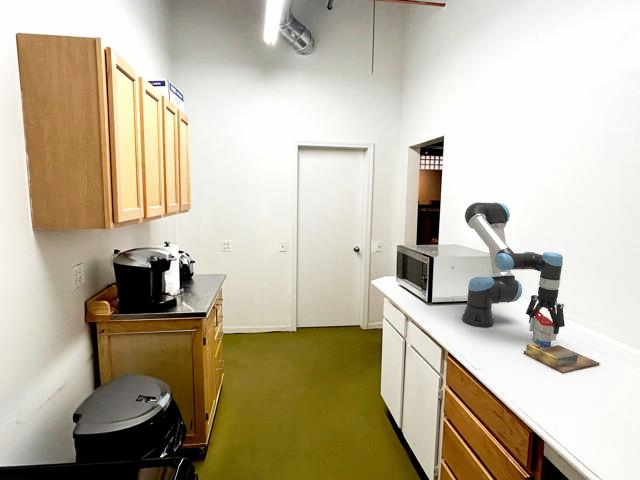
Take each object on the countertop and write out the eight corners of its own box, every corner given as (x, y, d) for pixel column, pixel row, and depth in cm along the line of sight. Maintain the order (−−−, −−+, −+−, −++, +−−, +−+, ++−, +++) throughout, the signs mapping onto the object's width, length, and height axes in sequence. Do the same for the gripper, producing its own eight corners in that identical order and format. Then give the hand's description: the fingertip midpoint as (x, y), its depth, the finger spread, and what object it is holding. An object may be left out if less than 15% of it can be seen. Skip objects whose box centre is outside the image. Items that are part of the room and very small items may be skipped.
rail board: (523, 353, 150) (524, 343, 149) (558, 347, 157) (559, 337, 157) (562, 373, 134) (564, 362, 134) (599, 365, 142) (601, 354, 141)
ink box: (550, 348, 156) (555, 316, 153) (538, 347, 157) (543, 315, 154) (543, 340, 164) (547, 310, 162) (531, 338, 165) (535, 308, 163)
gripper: (520, 281, 165) (515, 327, 169) (567, 295, 145) (560, 347, 148) (532, 280, 168) (526, 325, 171) (580, 294, 147) (572, 344, 151)
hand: (542, 335), depth 160 cm, fingers open, 9 cm apart
